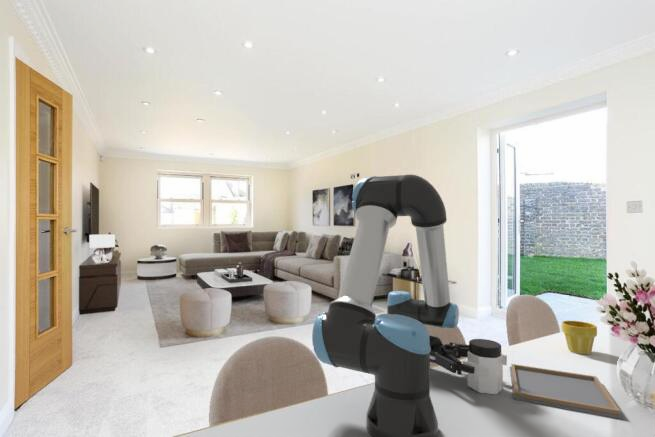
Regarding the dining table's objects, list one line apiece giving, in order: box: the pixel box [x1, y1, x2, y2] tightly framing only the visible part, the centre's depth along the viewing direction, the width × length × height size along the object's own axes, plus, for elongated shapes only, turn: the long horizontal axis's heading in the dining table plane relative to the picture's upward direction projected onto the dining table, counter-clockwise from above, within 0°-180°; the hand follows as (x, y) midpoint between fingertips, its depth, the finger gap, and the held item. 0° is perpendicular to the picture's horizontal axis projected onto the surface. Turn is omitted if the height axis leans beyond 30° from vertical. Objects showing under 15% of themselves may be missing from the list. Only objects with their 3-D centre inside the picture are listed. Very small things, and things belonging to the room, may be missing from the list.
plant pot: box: [561, 320, 598, 355], centre depth 129 cm, size 10×10×10 cm
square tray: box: [509, 363, 624, 420], centre depth 98 cm, size 22×22×2 cm
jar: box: [467, 338, 504, 395], centre depth 99 cm, size 9×8×12 cm
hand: (497, 366), depth 97 cm, fingers open, 12 cm apart
